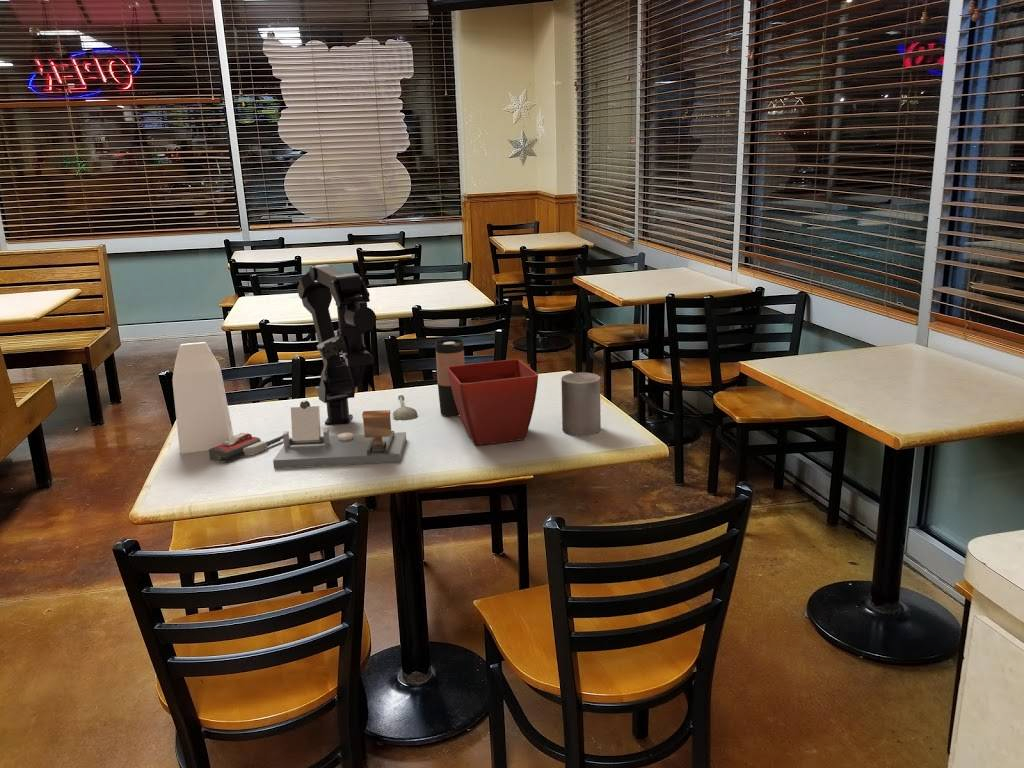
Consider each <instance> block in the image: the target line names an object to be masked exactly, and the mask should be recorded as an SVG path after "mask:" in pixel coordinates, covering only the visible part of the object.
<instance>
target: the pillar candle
mask: <svg viewBox="0 0 1024 768" xmlns="http://www.w3.org/2000/svg"><path fill="white" fill-rule="evenodd" d="M560 383H561V419H562V428H561V429H562V432H563V431H564V432H563V433H564V434H567V435H571V436H576V435H578V437H580V436H581V437H582V435H586V436H591V434H592V435H594V434H596V433H598V432H600V431H601V428H602V427H601V426H602V425H601V419H602V417H601V415H602V414H601V376H599V375H598V374H595V373H591V372H572V373H568V374H565V375H563V376H561V382H560Z"/></svg>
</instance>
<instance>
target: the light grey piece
mask: <svg viewBox="0 0 1024 768" xmlns="http://www.w3.org/2000/svg"><path fill="white" fill-rule="evenodd" d="M320 414H321V413H320V405H314V406H313V405H312V406H311V404H310V401H308V400H302V401H301V402H300V403H299V406H294V407H293V406H291V407H290V416H291V417H290V418H291V421H290V422H291V436H292V437H291V438H292V439H289V444H290V445H310V444H324V437H321V436H322V434H321V417H320V416H321V415H320Z"/></svg>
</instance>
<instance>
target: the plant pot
mask: <svg viewBox="0 0 1024 768" xmlns="http://www.w3.org/2000/svg"><path fill="white" fill-rule="evenodd" d="M447 371H448V376H449V381H450V385H451V389H452V393H453V396H454V400H455V403H456V406H457V410H458V413H459V415H460V416H459V418H460V421H461V423H462V426H463V428H464V431H465V432H466V434H467V436H468V437H469V438H470V440H471V441H472V443H473V444H474V445H475V446H481V445H482V446H483V445H488V444H489V445H490V444H498V443H499V444H500V443H505V442H506V443H507V442H512V441H515V442H516V441H520V440H521V441H522V440H525V439H526V437H527V434H528V431H529V427H530V424H531V420H532V418H533V417H532V416H533V412H534V409H535V402H536V397H537V392H538V391H537V390H538V382H539V374H538V373H537V372H536V371H534V370H533V369H532V368H531V367H529V365H527V364H526V363H524V362H523V361H522V360H521V359H518V358H516V359H513V358H512V359H505V360H504V359H503V360H495V361H485V362H477V363H476V362H475V363H474V362H473V363H465V365H457V366H449V367H447Z"/></svg>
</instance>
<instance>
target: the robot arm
mask: <svg viewBox="0 0 1024 768" xmlns="http://www.w3.org/2000/svg"><path fill="white" fill-rule="evenodd" d="M297 294H298V297H299V299H301V303H302V305H303V307H304V308H305V309H306V310H307V311H308V312H309V313H310V314H311V317H312V321H313V325H314V330H315V334H316V338H317V342H318V344H317V345H316V348H317V350H318V351H319V354H320V355H321V358H322V362H323V369H322V371H321V374H320V382H319V386H318V390H317V397H318V400H319V401H321V402H322V403H324V404H326V411H327V412H326V413H327V418H326V420H325V422H324V424H325V425H337V424H349V423H350V422H351V420H352V419H353V414H351V413H350V411H349V409H350V408H349V399H352V398H353V399H354V398H355V395H356V388H358V387H360V384H361V381H362V379H363V375H364V373H365V370H366V368H367V366H368V365H373V364H375V362H374V355H373V354H371V353H370V352H369V351H368V350H367V346H366V345H365V339H364V334H365V335H366V332H369V331H371V330H372V329H373V328H374V327H375V326H376V323H377V315H376V313H375V311H374V310H373V309H372V308H370V307H368V303H370V301H371V300H370V296H371V295H370V292H369V290H368V288H367V286H366V283H365V281H364V280H363V278H362V277H361V276H360V274H359V273H356V272H355V273H353V272H351V273H350V272H349V273H344V272H341V271H339V270H337V269H335V268H333V267H332V266H331V265H330V264H326V263H324V264H323V263H322V264H316V265H312V266H309V271H308V272H307V273H305V274H304V275H303V276H301V278H300V280H299V283H298V286H297ZM332 300H334V302H335V306H336V311H337V321H338V328H337V330H336V334H335V330H334V325H333V322H332V317H331V313H330V309H329V308H330V306H331V303H332ZM340 353H341V354H342V357H341V354H340Z"/></svg>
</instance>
